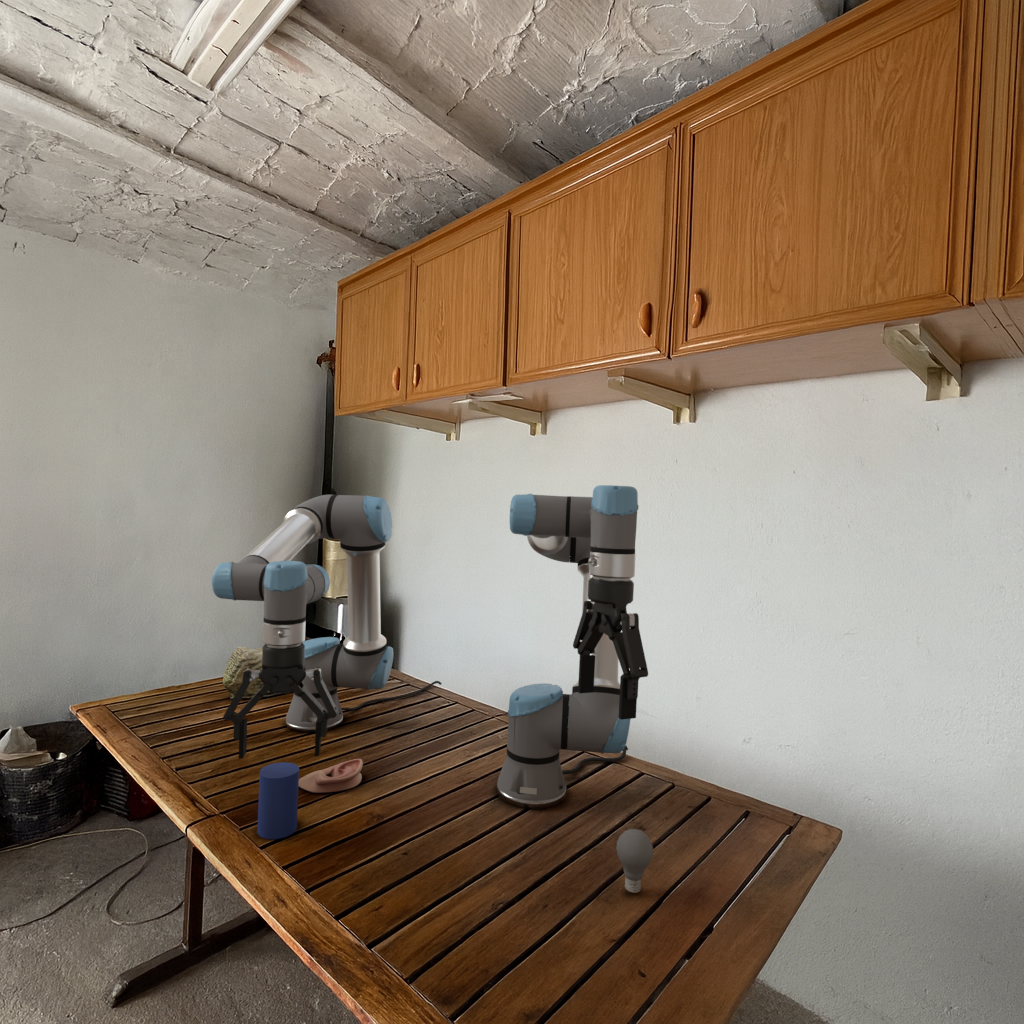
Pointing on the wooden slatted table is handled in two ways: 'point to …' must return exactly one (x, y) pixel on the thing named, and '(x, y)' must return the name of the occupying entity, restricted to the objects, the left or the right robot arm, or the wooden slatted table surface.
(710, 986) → the wooden slatted table surface
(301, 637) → the left robot arm
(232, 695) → the fossil
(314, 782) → the anatomical model
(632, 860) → the light bulb
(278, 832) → the blue cylinder
